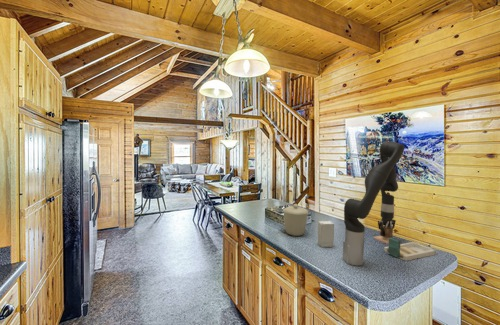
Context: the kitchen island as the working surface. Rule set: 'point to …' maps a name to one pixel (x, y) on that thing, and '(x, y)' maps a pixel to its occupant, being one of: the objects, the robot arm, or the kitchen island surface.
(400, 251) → the l-shaped stand
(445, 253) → the kitchen island surface
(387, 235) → the block
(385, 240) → the plate
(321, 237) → the skincare box
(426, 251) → the cream tray
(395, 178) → the robot arm
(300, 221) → the canister
